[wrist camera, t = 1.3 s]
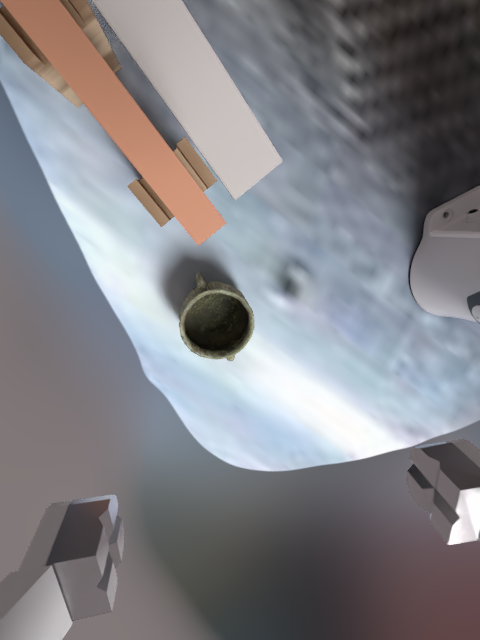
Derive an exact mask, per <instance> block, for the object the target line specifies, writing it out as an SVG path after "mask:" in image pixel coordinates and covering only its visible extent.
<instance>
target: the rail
mask: <svg viewBox="0 0 480 640" xmlns="http://www.w3.org/2000/svg"><path fill="white" fill-rule="evenodd" d="M0 1H1V2H2V3H3V5H4V6H5V7H6V8H7V9H8V11H9V12H10V13H11V14H12V16H13V17H14V18H15V19H16V21H17V22H18V23H19V24H20V26H21V27H22V28H23V29H24V31H25V32H26V33H27V34H28V35H29V37H30V38H31V39H32V40H33V42H34V43H35V44H36V45H37V47H38V48H39V49H40V50H41V52H42V53H43V54H44V55H45V56H46V58H47V59H48V60H49V61H50V63H51V64H52V65H53V66H54V68H55V69H56V70H57V71H58V73H59V74H60V75H61V76H62V78H63V79H64V80H65V81H66V82H67V84H68V85H69V86H70V87H71V89H72V90H73V91H74V92H75V94H76V95H77V96H78V97H79V99H80V100H81V101H82V102H83V104H84V105H85V106H86V107H87V108H88V110H89V111H90V112H91V113H92V115H93V116H94V117H95V118H96V120H97V121H98V122H99V123H100V125H101V126H102V127H103V128H104V130H105V131H106V132H107V133H108V134H109V136H110V137H111V138H112V139H113V141H114V142H115V143H116V144H117V146H118V147H119V148H120V149H121V151H122V152H123V153H124V154H125V156H126V157H127V158H128V159H129V160H130V162H131V163H132V164H133V165H134V167H135V168H136V169H137V170H138V172H139V173H140V174H141V175H142V177H143V178H144V179H145V180H146V181H147V183H148V184H149V185H150V186H151V188H152V189H153V190H154V191H155V193H156V194H157V195H158V196H159V198H160V199H161V200H162V201H163V203H164V204H165V205H166V206H167V207H168V209H169V210H170V211H171V212H172V214H173V215H174V216H175V217H176V219H177V220H178V221H179V222H180V224H181V225H182V226H183V227H184V229H185V230H186V231H187V232H188V233H189V235H190V236H191V237H192V238H193V240H194V241H195V242H196V243H197V245H198V246H199V245H200V244H201V243H203V242H204V241H205V240H206V239H207V238H209V237H210V236H211V235H212V234H214V233H215V232H216V231H217V230H219V229H220V228H221V227H222V226H223V225H225V224H226V222H225V221H224V219H223V218H222V217H221V215H220V214H219V213H218V211H217V210H216V209H215V207H214V206H213V205H212V203H211V202H210V201H209V199H208V198H207V197H206V195H205V194H204V193H203V191H202V190H201V189H200V187H199V186H198V185H197V183H196V182H195V181H194V179H193V178H192V177H191V175H190V174H189V173H188V171H187V170H186V169H185V167H184V166H183V165H182V163H181V162H180V160H179V159H178V158H177V156H176V155H175V154H174V152H173V151H172V150H171V148H170V147H169V146H168V144H167V143H166V142H165V140H164V139H163V138H162V136H161V135H160V134H159V132H158V131H157V130H156V128H155V127H154V126H153V124H152V123H151V122H150V120H149V119H148V118H147V116H146V115H145V114H144V112H143V111H142V110H141V108H140V107H139V106H138V104H137V103H136V102H135V100H134V99H133V98H132V96H131V95H130V94H129V92H128V91H127V90H126V88H125V87H124V86H123V84H122V83H121V82H120V80H119V79H118V78H117V76H116V75H115V74H114V72H113V71H112V70H111V68H110V67H109V66H108V64H107V63H106V62H105V60H104V59H103V58H102V56H101V55H100V54H99V52H98V51H97V50H96V48H95V47H94V46H93V44H92V43H91V42H90V40H89V39H88V38H87V36H86V35H85V34H84V32H83V31H82V30H81V28H80V27H79V26H78V24H77V23H76V22H75V20H74V19H73V18H72V16H71V15H70V14H69V12H68V11H67V10H66V8H65V7H64V6H63V4H62V3H61V2H60V0H0Z"/></svg>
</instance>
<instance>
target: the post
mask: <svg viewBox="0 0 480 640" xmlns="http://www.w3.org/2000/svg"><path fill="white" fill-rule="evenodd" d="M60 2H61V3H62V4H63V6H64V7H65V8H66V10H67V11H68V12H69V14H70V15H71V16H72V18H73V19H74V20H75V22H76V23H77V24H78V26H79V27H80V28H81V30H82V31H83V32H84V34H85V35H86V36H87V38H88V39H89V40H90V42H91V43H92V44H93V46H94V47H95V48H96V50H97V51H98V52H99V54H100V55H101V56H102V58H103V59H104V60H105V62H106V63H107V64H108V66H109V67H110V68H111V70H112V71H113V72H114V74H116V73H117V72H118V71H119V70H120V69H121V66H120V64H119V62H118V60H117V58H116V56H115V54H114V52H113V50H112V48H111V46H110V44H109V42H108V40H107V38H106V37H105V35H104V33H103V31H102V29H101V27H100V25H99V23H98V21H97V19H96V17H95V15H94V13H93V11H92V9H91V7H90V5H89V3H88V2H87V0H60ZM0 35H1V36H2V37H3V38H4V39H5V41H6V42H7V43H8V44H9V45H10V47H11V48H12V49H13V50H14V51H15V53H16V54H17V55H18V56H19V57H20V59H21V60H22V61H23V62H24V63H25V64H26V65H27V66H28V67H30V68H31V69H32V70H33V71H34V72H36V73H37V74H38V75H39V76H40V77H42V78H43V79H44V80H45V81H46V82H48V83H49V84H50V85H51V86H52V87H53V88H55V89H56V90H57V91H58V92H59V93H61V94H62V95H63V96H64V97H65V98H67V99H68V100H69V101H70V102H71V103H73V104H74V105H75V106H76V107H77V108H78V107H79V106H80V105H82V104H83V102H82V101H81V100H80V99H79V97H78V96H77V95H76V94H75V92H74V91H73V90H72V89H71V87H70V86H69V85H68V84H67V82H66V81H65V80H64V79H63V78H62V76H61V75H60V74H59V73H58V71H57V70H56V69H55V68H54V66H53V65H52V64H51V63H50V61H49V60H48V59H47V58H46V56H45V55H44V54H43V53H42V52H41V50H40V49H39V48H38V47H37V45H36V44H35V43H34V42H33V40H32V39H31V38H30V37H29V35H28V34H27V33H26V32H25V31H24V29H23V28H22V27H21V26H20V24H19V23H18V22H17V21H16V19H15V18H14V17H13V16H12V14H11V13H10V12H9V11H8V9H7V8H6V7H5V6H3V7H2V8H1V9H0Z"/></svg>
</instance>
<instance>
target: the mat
mask: <svg viewBox="0 0 480 640" xmlns="http://www.w3.org/2000/svg"><path fill="white" fill-rule="evenodd" d="M92 2H93V3H94V5H95V6H96V7H97V9H98V10H99V12H100V13H101V14H102V16H103V17H104V19H105V20H106V21H107V23H108V24H109V26H110V27H111V28H112V30H113V31H114V32H115V34H116V35H117V37H118V38H119V39H120V41H121V42H122V44H123V45H124V46H125V48H126V49H127V51H128V52H129V53H130V55H131V56H132V58H133V59H134V60H135V62H136V63H137V65H138V66H139V67H140V69H141V70H142V72H143V73H144V74H145V76H146V77H147V78H148V80H149V81H150V83H151V84H152V85H153V87H154V88H155V90H156V91H157V92H158V94H159V95H160V97H161V98H162V99H163V101H164V102H165V104H166V105H167V106H168V108H169V109H170V111H171V112H172V113H173V115H174V116H175V117H176V119H177V120H178V122H179V123H180V124H181V126H182V127H183V129H184V130H185V131H186V133H187V134H188V136H189V137H190V138H191V140H192V141H193V143H194V144H195V145H196V147H197V148H198V150H199V151H200V152H201V154H202V155H203V157H204V158H205V159H206V161H207V162H208V163H209V165H210V166H211V168H212V169H213V170H214V172H215V173H216V175H217V176H218V177H219V179H220V180H221V182H222V183H223V184H224V186H225V187H226V189H227V190H228V191H229V193H230V194H231V196H232V197H233V198H234V200H236V199H237V198H239V197H240V196H241V195H242V194H243V193H245V192H246V191H247V190H248V189H249V188H251V187H252V186H253V185H254V184H256V183H257V182H258V181H259V180H260V179H262V178H263V177H264V176H265V175H267V174H268V173H269V172H270V171H271V170H273V169H274V168H275V167H276V166H278V165H279V164H280V163H281V162H282V159H281V157H280V156H279V154H278V153H277V151H276V149H275V148H274V146H273V145H272V143H271V141H270V140H269V138H268V137H267V135H266V133H265V132H264V130H263V129H262V127H261V125H260V124H259V122H258V121H257V119H256V118H255V116H254V114H253V113H252V111H251V110H250V108H249V106H248V105H247V103H246V102H245V100H244V98H243V97H242V95H241V94H240V92H239V90H238V89H237V87H236V86H235V84H234V83H233V81H232V79H231V78H230V76H229V75H228V73H227V71H226V70H225V68H224V67H223V65H222V63H221V62H220V60H219V59H218V57H217V55H216V54H215V52H214V51H213V49H212V47H211V46H210V44H209V43H208V41H207V40H206V38H205V36H204V35H203V33H202V32H201V30H200V28H199V27H198V25H197V24H196V22H195V20H194V19H193V17H192V16H191V14H190V12H189V11H188V9H187V8H186V6H185V4H184V3H183V1H182V0H92Z"/></svg>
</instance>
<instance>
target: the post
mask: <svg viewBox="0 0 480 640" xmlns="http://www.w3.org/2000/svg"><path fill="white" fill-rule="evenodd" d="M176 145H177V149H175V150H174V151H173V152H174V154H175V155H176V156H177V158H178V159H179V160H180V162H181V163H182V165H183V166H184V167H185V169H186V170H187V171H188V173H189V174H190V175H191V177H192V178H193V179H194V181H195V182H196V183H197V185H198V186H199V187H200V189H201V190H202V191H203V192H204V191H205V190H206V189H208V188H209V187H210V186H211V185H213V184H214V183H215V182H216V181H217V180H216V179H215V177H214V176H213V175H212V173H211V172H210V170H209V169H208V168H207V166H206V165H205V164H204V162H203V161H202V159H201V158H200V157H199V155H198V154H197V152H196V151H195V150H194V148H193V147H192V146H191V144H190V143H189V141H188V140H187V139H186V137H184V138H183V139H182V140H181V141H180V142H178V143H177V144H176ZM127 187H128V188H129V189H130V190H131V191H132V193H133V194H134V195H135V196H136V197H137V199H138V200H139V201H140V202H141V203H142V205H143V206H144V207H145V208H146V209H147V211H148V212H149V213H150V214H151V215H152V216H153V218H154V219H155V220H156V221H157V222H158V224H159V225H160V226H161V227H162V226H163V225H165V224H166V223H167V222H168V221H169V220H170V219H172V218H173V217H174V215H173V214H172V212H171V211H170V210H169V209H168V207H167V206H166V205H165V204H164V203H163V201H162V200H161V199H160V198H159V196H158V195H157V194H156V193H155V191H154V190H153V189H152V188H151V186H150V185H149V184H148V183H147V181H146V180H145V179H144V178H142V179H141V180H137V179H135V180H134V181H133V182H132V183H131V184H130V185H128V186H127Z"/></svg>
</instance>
